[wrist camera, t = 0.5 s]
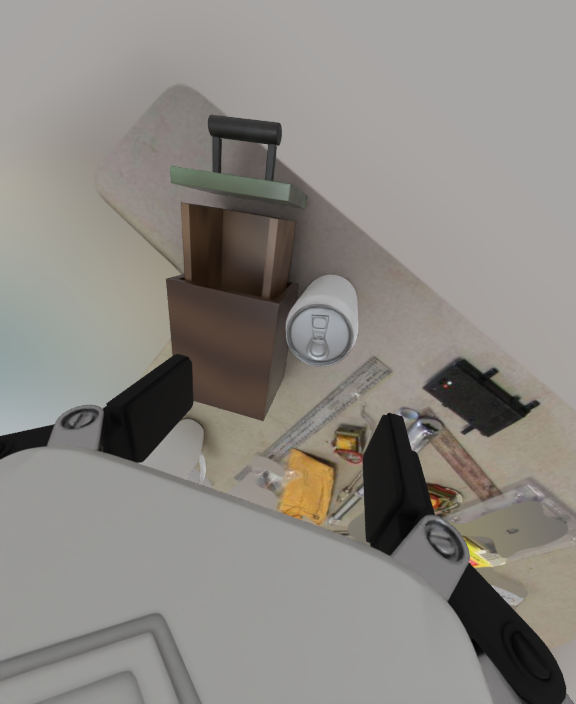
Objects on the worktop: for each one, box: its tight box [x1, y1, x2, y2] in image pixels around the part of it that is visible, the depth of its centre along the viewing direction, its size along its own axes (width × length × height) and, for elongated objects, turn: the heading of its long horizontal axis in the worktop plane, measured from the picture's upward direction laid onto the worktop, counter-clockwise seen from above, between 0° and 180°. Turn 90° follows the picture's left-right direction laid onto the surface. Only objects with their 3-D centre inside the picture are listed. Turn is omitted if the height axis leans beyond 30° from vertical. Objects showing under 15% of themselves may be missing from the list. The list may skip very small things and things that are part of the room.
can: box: [286, 275, 358, 367], centre depth 26 cm, size 6×6×12 cm
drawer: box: [170, 115, 307, 300], centre depth 25 cm, size 18×10×8 cm, turn 171°
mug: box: [139, 419, 206, 485], centre depth 43 cm, size 12×9×12 cm
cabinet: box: [166, 274, 299, 421], centre depth 31 cm, size 15×12×10 cm
